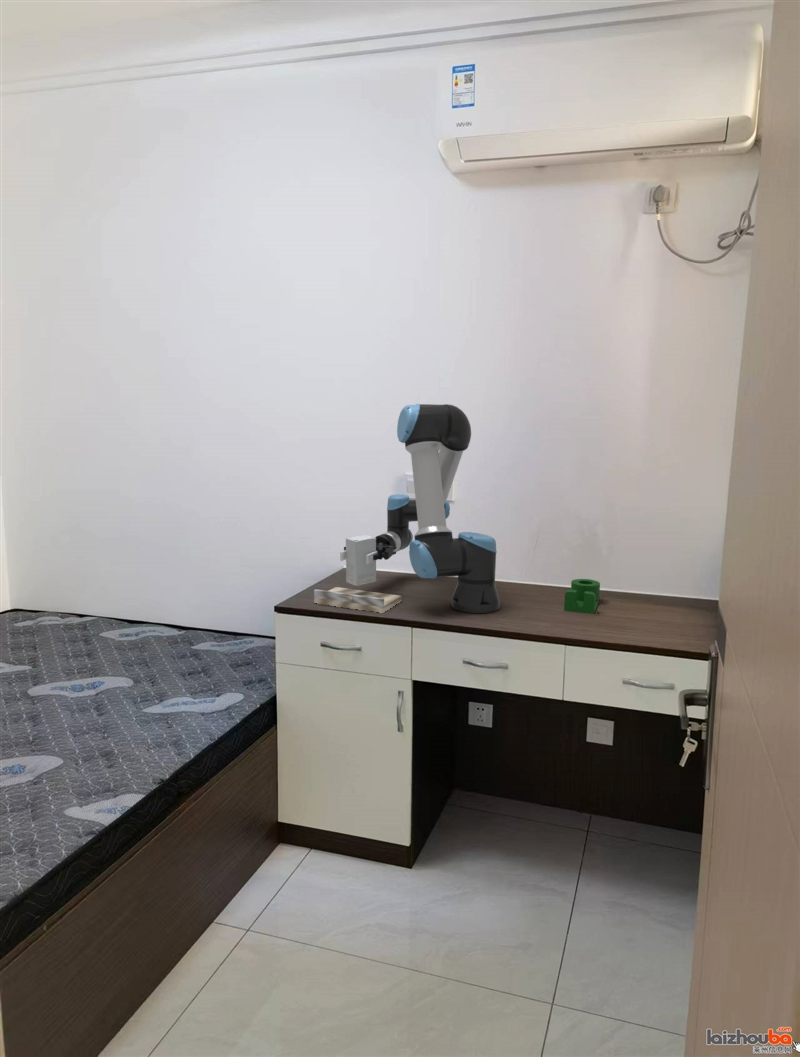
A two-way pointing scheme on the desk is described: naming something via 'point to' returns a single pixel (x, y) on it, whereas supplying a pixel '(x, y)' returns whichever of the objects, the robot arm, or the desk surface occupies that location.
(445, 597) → the desk surface
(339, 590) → the shelf board
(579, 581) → the slotted cylinder bracket
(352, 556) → the skincare box
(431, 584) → the desk surface
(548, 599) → the desk surface
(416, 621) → the desk surface
